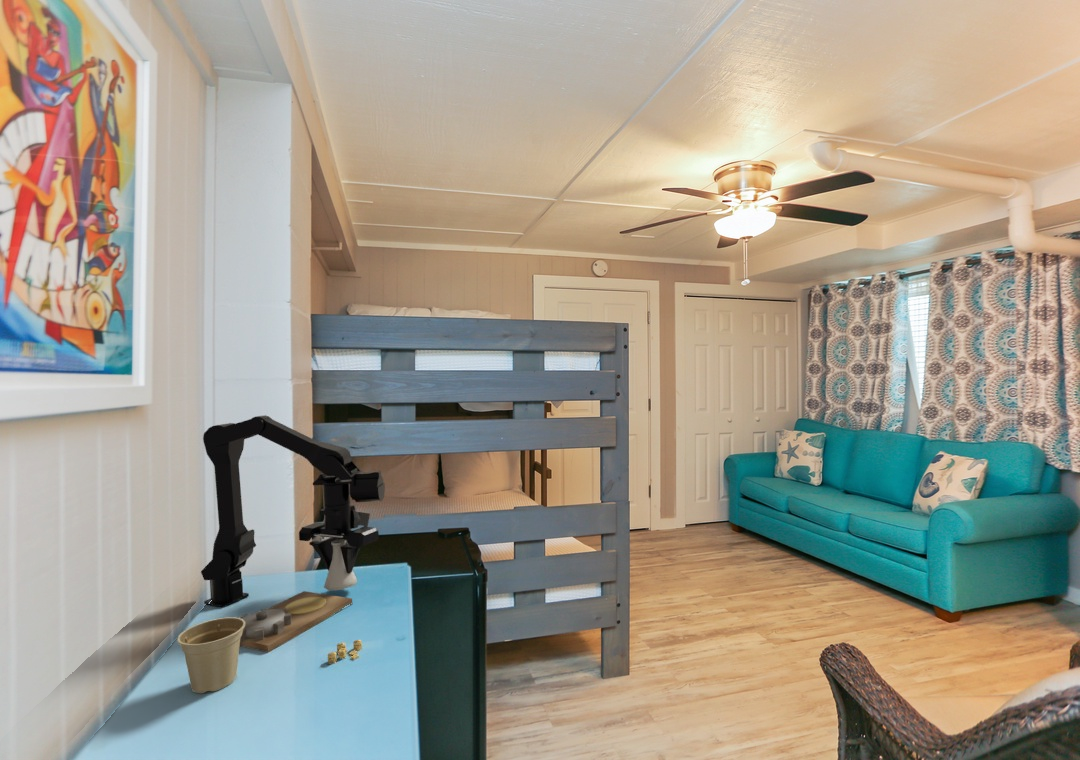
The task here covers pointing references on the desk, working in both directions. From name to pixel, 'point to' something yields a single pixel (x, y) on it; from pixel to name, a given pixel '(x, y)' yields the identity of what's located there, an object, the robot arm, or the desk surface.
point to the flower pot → (212, 652)
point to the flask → (339, 570)
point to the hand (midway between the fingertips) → (340, 571)
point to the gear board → (298, 621)
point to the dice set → (345, 651)
